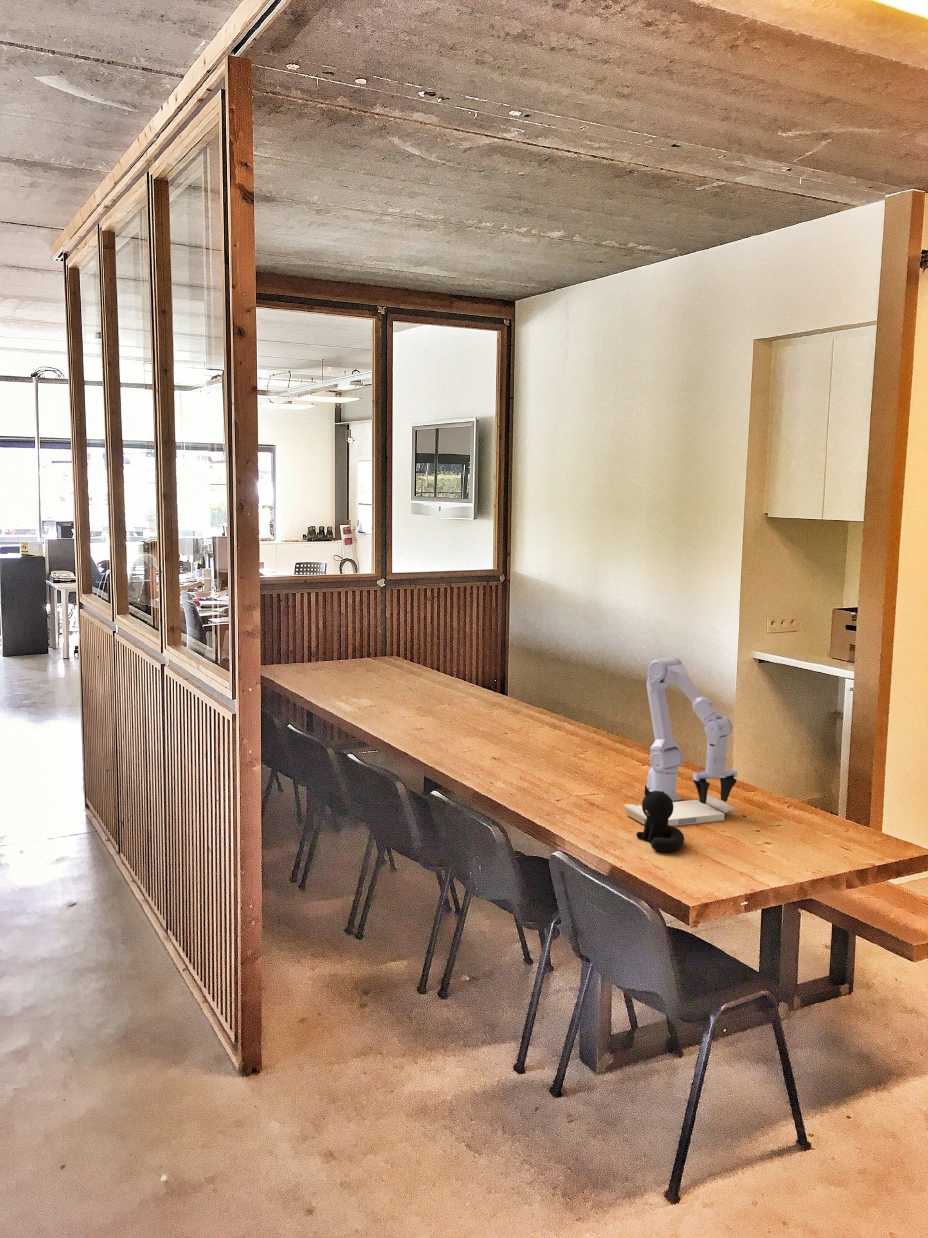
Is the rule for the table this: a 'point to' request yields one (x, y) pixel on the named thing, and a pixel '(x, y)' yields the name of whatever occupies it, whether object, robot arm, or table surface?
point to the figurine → (660, 822)
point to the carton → (693, 813)
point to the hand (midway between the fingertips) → (713, 801)
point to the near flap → (635, 813)
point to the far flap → (719, 804)
